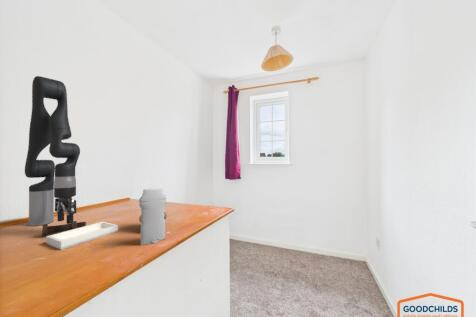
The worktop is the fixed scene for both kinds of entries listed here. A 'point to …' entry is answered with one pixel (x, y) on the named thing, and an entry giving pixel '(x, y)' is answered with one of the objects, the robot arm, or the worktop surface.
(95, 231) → the parts tray
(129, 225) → the worktop surface
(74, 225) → the bolt
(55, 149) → the robot arm
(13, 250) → the worktop surface
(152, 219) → the tall pale column
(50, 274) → the worktop surface
